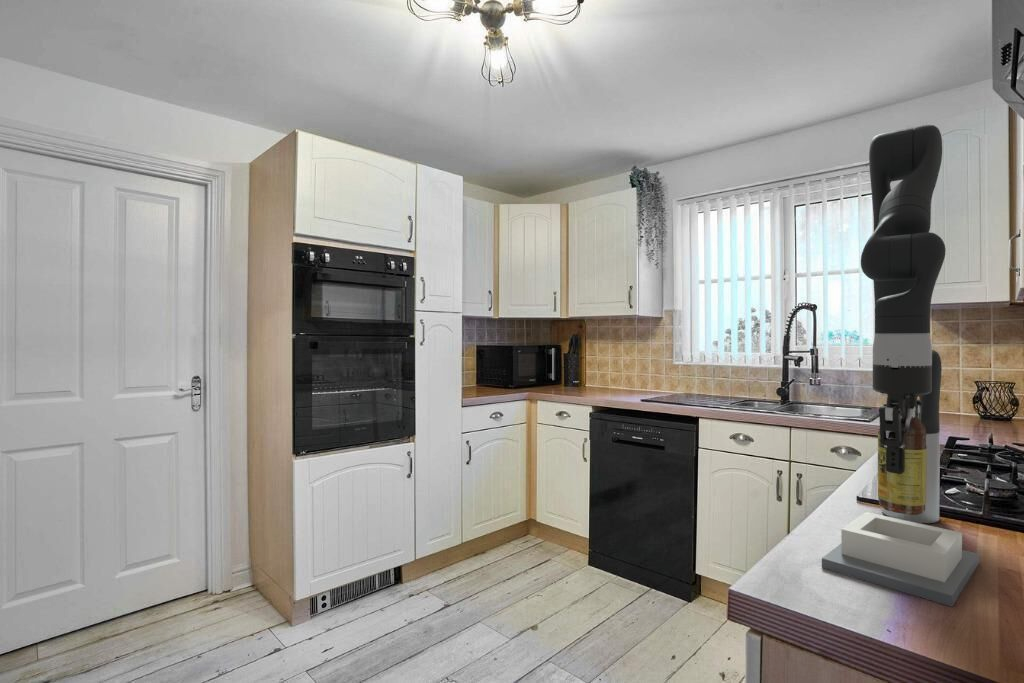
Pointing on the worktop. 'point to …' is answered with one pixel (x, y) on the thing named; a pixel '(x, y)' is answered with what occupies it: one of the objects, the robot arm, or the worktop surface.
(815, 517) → the worktop surface
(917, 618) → the worktop surface
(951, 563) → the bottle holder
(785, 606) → the worktop surface
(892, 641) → the worktop surface
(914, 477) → the sauce bottle
